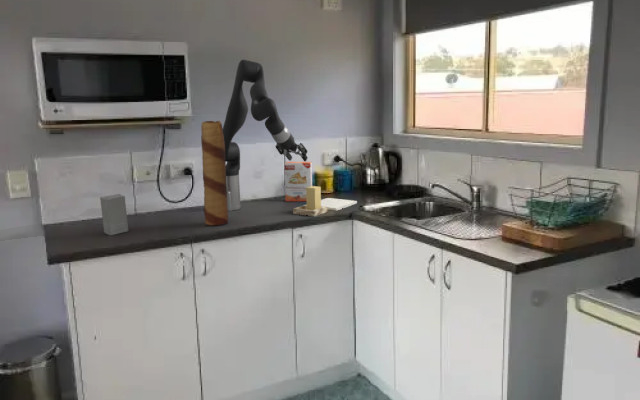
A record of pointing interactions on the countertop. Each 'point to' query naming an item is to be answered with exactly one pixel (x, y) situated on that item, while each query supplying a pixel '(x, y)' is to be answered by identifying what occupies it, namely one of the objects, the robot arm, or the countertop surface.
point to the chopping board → (336, 203)
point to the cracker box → (297, 180)
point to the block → (313, 197)
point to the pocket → (309, 211)
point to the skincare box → (114, 214)
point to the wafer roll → (214, 173)
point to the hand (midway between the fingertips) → (298, 159)
